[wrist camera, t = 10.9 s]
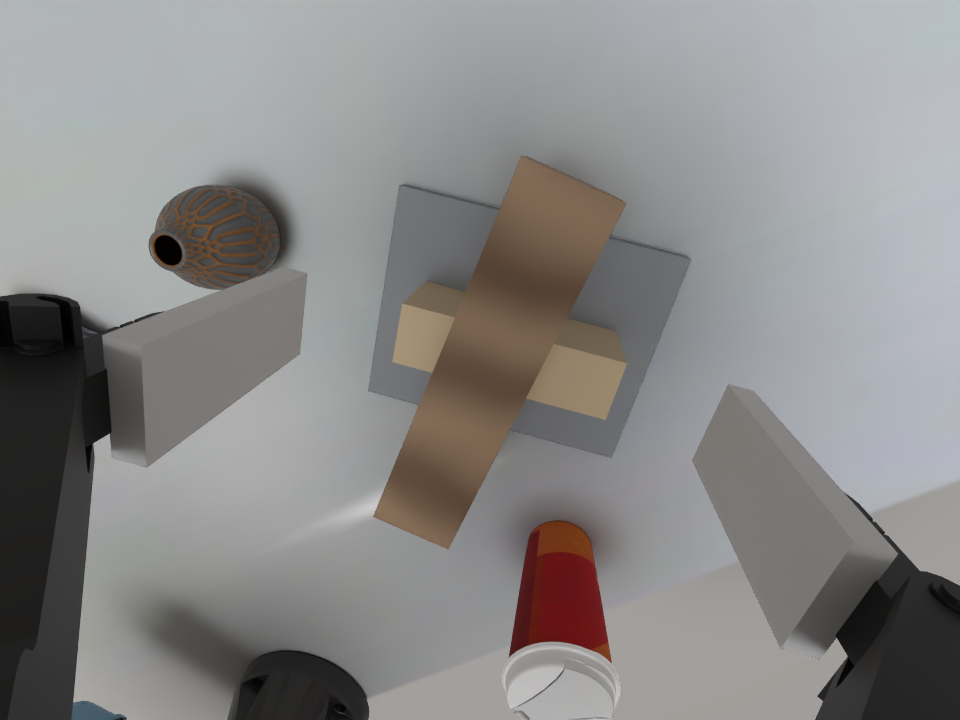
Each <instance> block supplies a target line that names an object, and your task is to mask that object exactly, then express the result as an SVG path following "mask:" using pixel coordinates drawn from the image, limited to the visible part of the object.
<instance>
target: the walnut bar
mask: <svg viewBox="0 0 960 720" xmlns="http://www.w3.org/2000/svg"><path fill="white" fill-rule="evenodd" d="M625 205H626V203H625V202H623V201H622V200H620V199H618V198H617V197H615V196H613V195H611V194H609V193H606V192H604V191H602V190H600V189H598V188H595V187H593V186H591V185H589V184H587V183H584V182H582V181H580V180H578V179H575V178H573V177H571V176H569V175H567V174H564V173H562V172H560V171H558V170H556V169H553V168H551V167H549V166H547V165H544V164H542V163H540V162H538V161H536V160H533V159H531V158H529V157H524V156H521V158H520V161H519V163H518V166H517V168H516V171H515V173H514V175H513V178H512V180H511V183H510V185H509V188H508V190H507V192H506V195H505V197H504V200H503V202H502V205H501V207H500V209H499V212H498V214H497V217H496V219H495V222H494V224H493V226H492V229H491V231H490V234H489V236H488V239H487V241H486V243H485V246H484V248H483V251H482V253H481V256H480V258H479V261H478V263H477V265H476V268H475V270H474V273H473V275H472V278H471V280H470V282H469V285H468V287H467V290H466V292H465V295H464V297H463V299H462V302H461V304H460V307H459V309H458V312H457V314H456V316H455V319H454V321H453V324H452V326H451V329H450V331H449V334H448V336H447V338H446V341H445V343H444V346H443V348H442V351H441V353H440V355H439V358H438V360H437V363H436V365H435V368H434V370H433V372H432V375H431V377H430V380H429V382H428V385H427V387H426V389H425V392H424V394H423V397H422V399H421V402H420V404H419V406H418V409H417V411H416V414H415V416H414V419H413V421H412V424H411V426H410V428H409V431H408V433H407V436H406V438H405V441H404V443H403V445H402V448H401V450H400V453H399V455H398V458H397V460H396V462H395V465H394V467H393V470H392V472H391V475H390V477H389V479H388V482H387V484H386V487H385V489H384V492H383V494H382V497H381V499H380V501H379V504H378V506H377V509H376V511H375V514H374V516H373V517H375V518H377V519H379V520H382V521H384V522H386V523H389V524H391V525H393V526H396V527H398V528H400V529H403V530H405V531H407V532H409V533H412V534H414V535H416V536H419V537H421V538H423V539H426V540H428V541H430V542H433V543H435V544H437V545H439V546H442V547H444V548H446V549H449V547H450V545H451V543H452V541H453V539H454V537H455V535H456V533H457V531H458V529H459V527H460V525H461V523H462V522H463V520H464V518H465V516H466V514H467V512H468V510H469V508H470V506H471V504H472V502H473V500H474V498H475V496H476V494H477V492H478V490H479V488H480V487H481V485H482V483H483V481H484V479H485V477H486V475H487V473H488V471H489V469H490V467H491V465H492V463H493V461H494V459H495V457H496V455H497V454H498V452H499V450H500V448H501V446H502V444H503V442H504V440H505V438H506V436H507V434H508V432H509V430H510V428H511V426H512V424H513V422H514V420H515V419H516V417H517V415H518V413H519V411H520V409H521V407H522V405H523V403H524V401H525V399H526V397H527V395H528V393H529V391H530V389H531V387H532V386H533V384H534V382H535V380H536V378H537V376H538V374H539V372H540V370H541V368H542V366H543V364H544V362H545V360H546V358H547V356H548V354H549V353H550V351H551V349H552V347H553V345H554V343H555V341H556V339H557V337H558V335H559V333H560V331H561V329H562V327H563V325H564V323H565V321H566V319H567V318H568V316H569V314H570V312H571V310H572V308H573V306H574V304H575V302H576V300H577V298H578V296H579V294H580V292H581V290H582V288H583V286H584V285H585V283H586V281H587V279H588V277H589V275H590V273H591V271H592V269H593V267H594V265H595V263H596V261H597V259H598V257H599V255H600V253H601V252H602V250H603V248H604V246H605V244H606V242H607V240H608V238H609V236H610V234H611V232H612V230H613V228H614V226H615V224H616V222H617V220H618V218H619V217H620V215H621V213H622V211H623V209H624V207H625Z"/></svg>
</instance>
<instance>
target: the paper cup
mask: <svg viewBox="0 0 960 720" xmlns="http://www.w3.org/2000/svg"><path fill="white" fill-rule="evenodd" d="M501 680H502V686H503V688H504V691H505V693H506V698H507V703H508V705H509V708H510V709H511V708H513V709H514V710H515V712H514V713H515V714H516V715H517V716H518V717H519V718H520V719H521V720H612V718H613V714H614V708H615V706H616V704H617V702H618V700H619V697H620V692H621V689H620V682H619V678H618V673H617V670H616V668H615V667H614V666H613V664H612V661H611V656H610V650H609V644H608V638H607V633H606V626H605V620H604V614H603V608H602V602H601V596H600V590H599V585H598V579H597V573H596V567H595V562H594V557H593V552H592V547H591V543H590V540H589V538H588V536H587V535H586V533H585V532H584V531H583V530H582V529H581V528H579V527H578V526H576V525H574V524H572V523H569V522H564V521H550V522H546V523H544V524H541V525H540V526H538V527H537V528H536V529H534V531H533V532H532V533H531V535H530V537H529V540H528V545H527V550H526V555H525V561H524V567H523V572H522V579H521V585H520V591H519V597H518V603H517V610H516V616H515V622H514V629H513V635H512V641H511V647H510V654H509V658H508V660H507V661H506V663H505V665H504V667H503V670H502V678H501Z"/></svg>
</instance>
